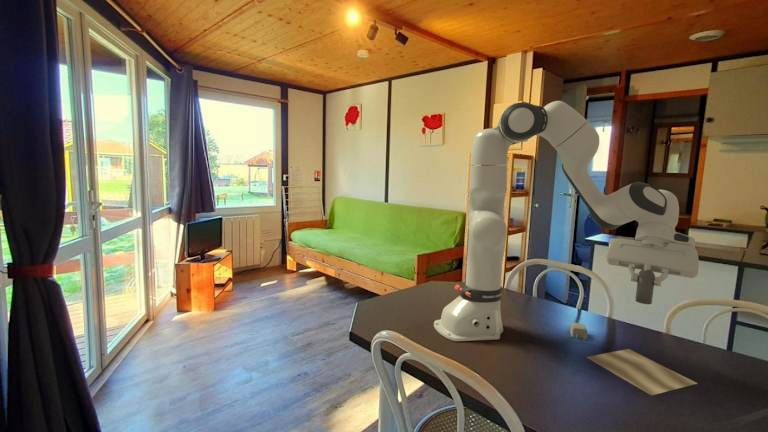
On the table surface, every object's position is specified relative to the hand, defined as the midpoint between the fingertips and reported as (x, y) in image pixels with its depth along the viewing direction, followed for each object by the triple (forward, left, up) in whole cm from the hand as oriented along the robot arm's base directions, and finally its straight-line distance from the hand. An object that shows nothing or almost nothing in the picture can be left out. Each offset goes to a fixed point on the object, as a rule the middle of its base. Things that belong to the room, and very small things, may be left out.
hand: (645, 282), depth 97 cm
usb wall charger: (-2, +17, -24) cm, 29 cm away
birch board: (-2, -3, -23) cm, 24 cm away
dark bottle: (+1, 0, -5) cm, 5 cm away
